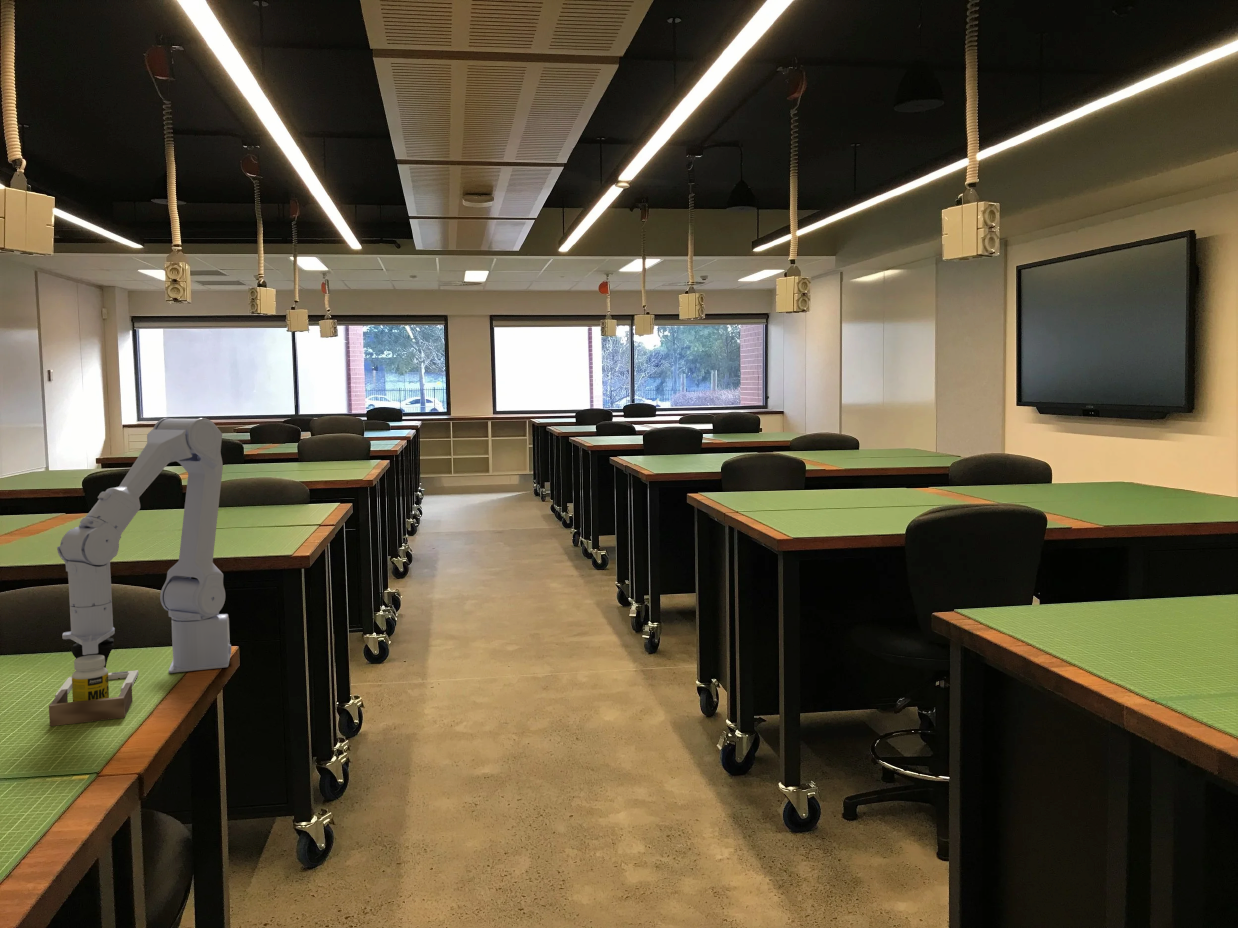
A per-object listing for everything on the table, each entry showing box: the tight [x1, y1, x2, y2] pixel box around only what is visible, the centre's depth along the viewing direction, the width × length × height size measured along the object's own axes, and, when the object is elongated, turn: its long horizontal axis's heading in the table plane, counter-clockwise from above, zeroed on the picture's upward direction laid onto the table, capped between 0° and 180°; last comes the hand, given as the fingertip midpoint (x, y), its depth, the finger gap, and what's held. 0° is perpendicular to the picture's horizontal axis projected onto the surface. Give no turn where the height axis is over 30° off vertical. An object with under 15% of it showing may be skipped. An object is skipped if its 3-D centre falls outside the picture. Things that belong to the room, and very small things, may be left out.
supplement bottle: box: [71, 655, 110, 702], centre depth 135 cm, size 5×5×8 cm
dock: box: [54, 669, 139, 698], centre depth 147 cm, size 10×10×1 cm
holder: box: [48, 682, 133, 727], centre depth 135 cm, size 10×8×3 cm
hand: (95, 687), depth 141 cm, fingers closed
